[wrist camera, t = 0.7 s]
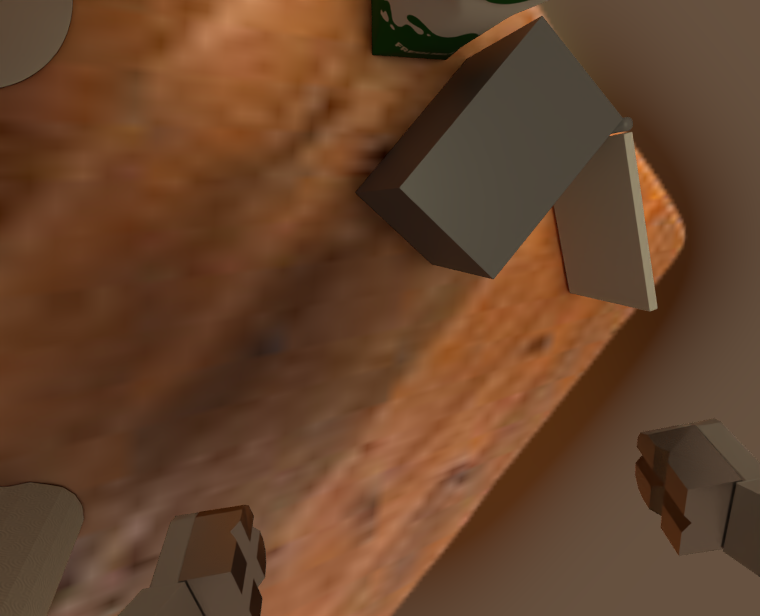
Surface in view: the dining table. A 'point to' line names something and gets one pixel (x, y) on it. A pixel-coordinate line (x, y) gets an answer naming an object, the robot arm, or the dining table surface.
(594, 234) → the side door
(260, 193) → the dining table surface
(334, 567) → the dining table surface
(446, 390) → the dining table surface
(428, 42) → the milk carton
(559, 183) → the box
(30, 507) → the paper towel roll
